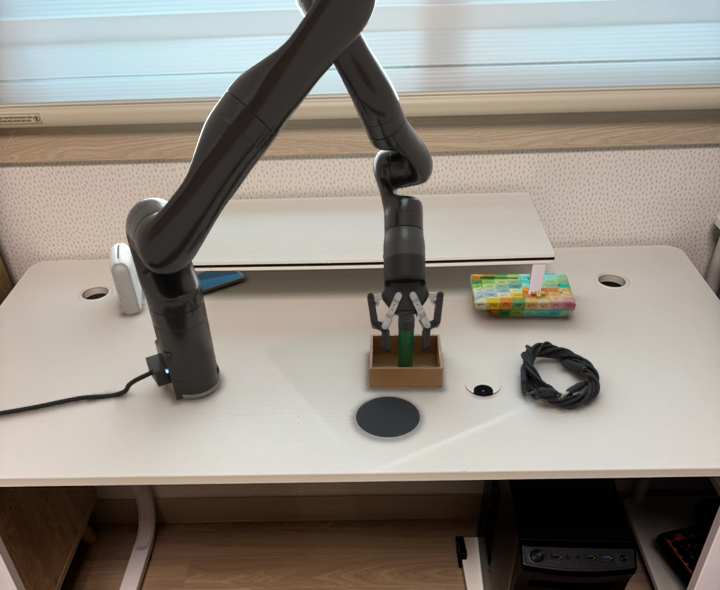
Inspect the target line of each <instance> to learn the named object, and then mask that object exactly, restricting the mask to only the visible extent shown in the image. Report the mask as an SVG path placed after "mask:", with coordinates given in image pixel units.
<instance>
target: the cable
mask: <svg viewBox="0 0 720 590" xmlns="http://www.w3.org/2000/svg"><path fill="white" fill-rule="evenodd" d="M524 347H525V350H524V351H522V352H521V353H520V358H521V359H522V365H521V366H520V388H521V393H522V395H523V396H525V397H526V396H531V395H532V396H533V397H534V398H535V399H538V398H539V399H541V400H544V401H546V402H547V403H549V404H551V405H555V406H557V407H559V408H563V409H575V408H577V407H580V406H582V405H584V404H587V403H590V402H592V401H593V400H595V399H596V398H597V396H598V395H599V393H600V391H601V383H600V374H599V371H598V370H597V368H596V367H595V366H594V363H592V362H591V361H590V360H589V359H587V358H585V357H583V356H582V355H580V354H577V353H575V352H574V351H573V350H571V349H569V348H567V347H564V346H558V345H556V344H553V343H552V342H550V341H548V340H546V341H544V342H536V343H534V344H533V345H532V346H531V345H529V344H525V346H524ZM537 358H545V359H546V358H547V359H555V360H559V361H560V362H561V364H562V365H563V366H564V367H565V368H568V369H571V370H573V371H576V372H579V373H580V374H581V376H583V377H586V378H587V379H586V380H583V381H578V382H576V383H575V384H573V385H571V386H569V387H568V388H566V389H565V392H563V393H562V392H559V391H558V390H557V389H556V388H555V387H554V388H553V387H552V386H551V385H549V384H548V383H547V382H546V381H545V380H543V379H542V376H541V375H540V373H539V370H538V369H537V368H536V367H535V362H536V360H537ZM584 389H585V390H584ZM582 390H584V391H583V392H581V391H582ZM578 392H581V393H578Z"/></svg>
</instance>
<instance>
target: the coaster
mask: <svg viewBox="0 0 720 590" xmlns="http://www.w3.org/2000/svg"><path fill="white" fill-rule="evenodd" d="M355 420H356V423H357V425H358V426H359V427H360V428H361V429H362V431H364V432H365V433H367V434H370V435H372V436H374V437H380V438H396V437H401V436H404V435H408V434H409V433H410V432H412V431H414V430H415V428H416V427H417V426H418V425H419V423H420V420H421V414H420V411H419V409H418V408H417V407H416V405H414V404H413V403H412V402H410V401H409V400H407V399H404V398H402V397H396V396H380V397H375V398H371V399H369V400H367V401H365V402H364V403H363V404H361V405H360V407H359V408H358V410H357V411H356V414H355Z"/></svg>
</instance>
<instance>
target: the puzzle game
mask: <svg viewBox="0 0 720 590" xmlns="http://www.w3.org/2000/svg"><path fill="white" fill-rule="evenodd" d="M530 274H531V273H491V274H490V273H487V274H477V273H476V274H475V273H473V274H470V279H469V280H470V288H471V295H472V302H473V308H474V309H475V310H478V311H479V310H480V311H489V314H490V315H491V316H492V317H547V318H548V317H554V318H555V317H556V318H557V317H558V318H560V317H561V318H563V317H567V316H568V315H569V314H571V313H572V312H573V311H575V310H576V305H577V304H576V301H575V297H574V294H573V292H572V291H573V290H572V288H571V286H570V283H569V279H568V275H567V274H564V273H543V274H544V280H543V284H542V288H541V292H540V290H539V291H535V292H531V294H528V290H529V282H530Z"/></svg>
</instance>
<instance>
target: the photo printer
mask: <svg viewBox="0 0 720 590" xmlns="http://www.w3.org/2000/svg"><path fill="white" fill-rule="evenodd" d="M109 269H110V273H111V277H112V279H113V283H114V287H115V290H116V293H117V297H118V300H119V303H120V308H121V310H122V312H123V313H124V314H126V315H135V314H138V313H139V312H141V311H142V308H143V307H142V306H143V290H142V287H141V285H140V282H139V279H138V276H137V272H136V268H135V265H134V262H133V258H132V255H131V251H130V248H129V245H127V244H126V243H124V242H119V243H118V242H117V243H114V245H113V246H112V247H111V249H110V252H109Z"/></svg>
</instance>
